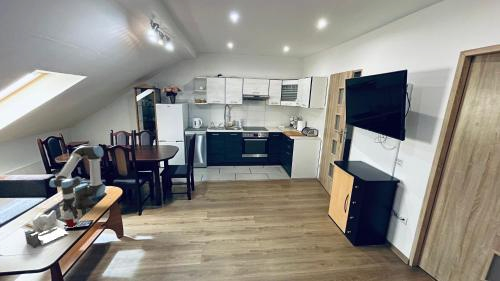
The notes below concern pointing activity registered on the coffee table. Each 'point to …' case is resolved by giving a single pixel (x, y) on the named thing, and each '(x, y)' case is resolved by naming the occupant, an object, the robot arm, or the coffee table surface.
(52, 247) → the coffee table surface
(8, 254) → the coffee table surface
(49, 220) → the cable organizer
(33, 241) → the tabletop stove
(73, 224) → the plastic cup
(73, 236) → the coffee table surface
